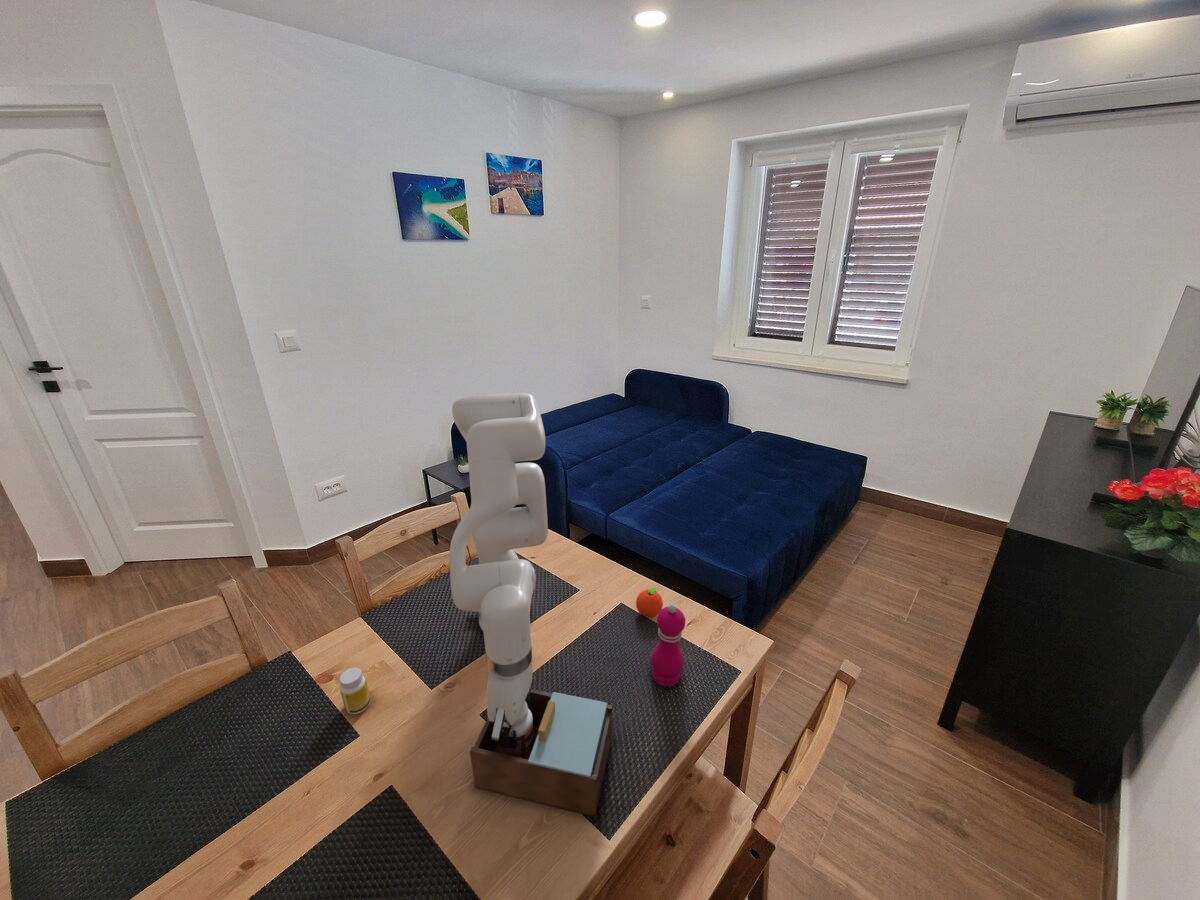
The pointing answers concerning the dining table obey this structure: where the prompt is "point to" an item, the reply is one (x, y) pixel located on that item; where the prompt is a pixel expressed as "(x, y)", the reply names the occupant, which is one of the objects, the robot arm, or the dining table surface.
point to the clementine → (649, 602)
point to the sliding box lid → (569, 734)
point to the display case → (539, 768)
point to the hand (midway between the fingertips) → (515, 727)
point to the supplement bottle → (354, 691)
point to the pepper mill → (668, 647)
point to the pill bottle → (522, 735)
